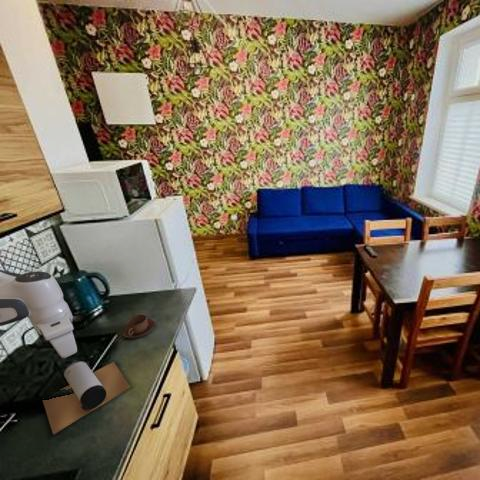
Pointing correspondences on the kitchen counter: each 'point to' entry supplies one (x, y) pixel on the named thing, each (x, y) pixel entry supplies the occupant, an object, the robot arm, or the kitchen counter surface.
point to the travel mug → (85, 385)
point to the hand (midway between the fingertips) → (68, 352)
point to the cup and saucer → (138, 326)
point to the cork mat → (70, 407)
